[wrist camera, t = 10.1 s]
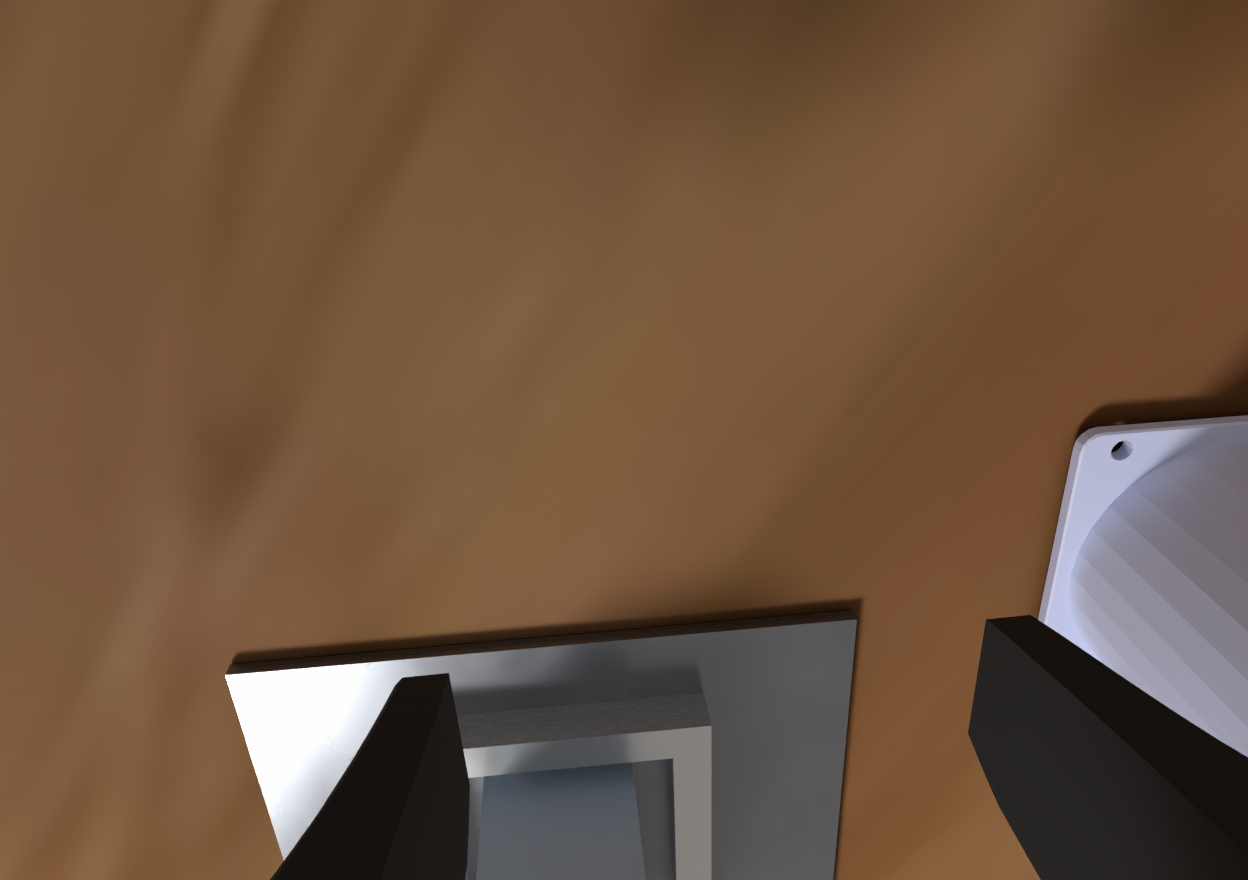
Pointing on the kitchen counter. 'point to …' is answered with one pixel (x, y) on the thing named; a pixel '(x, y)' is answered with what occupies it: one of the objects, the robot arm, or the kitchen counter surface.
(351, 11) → the kitchen counter surface
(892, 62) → the kitchen counter surface
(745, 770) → the pocket plate
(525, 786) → the light blue block
